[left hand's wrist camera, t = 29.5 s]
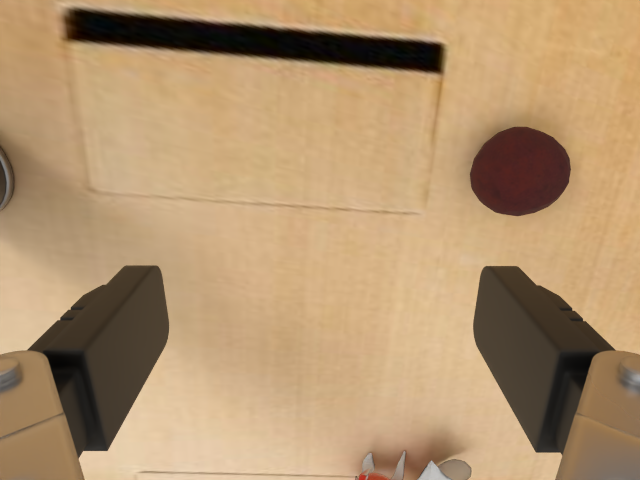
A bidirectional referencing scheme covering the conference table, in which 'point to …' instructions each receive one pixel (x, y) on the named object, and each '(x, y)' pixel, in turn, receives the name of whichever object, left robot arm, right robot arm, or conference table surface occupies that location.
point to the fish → (446, 476)
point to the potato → (520, 171)
